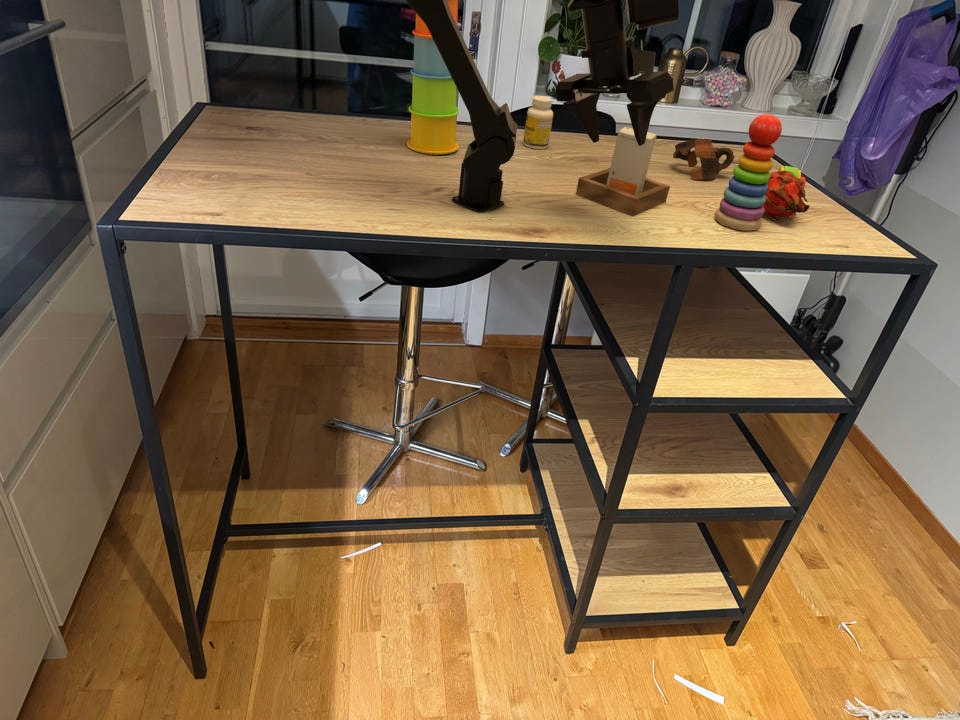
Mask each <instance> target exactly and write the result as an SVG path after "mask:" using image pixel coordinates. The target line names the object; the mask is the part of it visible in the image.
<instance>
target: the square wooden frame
mask: <svg viewBox="0 0 960 720" xmlns="http://www.w3.org/2000/svg"><path fill="white" fill-rule="evenodd" d="M609 171H610V167H609V168H606V169H602V170H599V171H597V172H593V173H589V174H587V175H583V176H581V177H578V181H577V186H576V191H575V195H577V196H579V197H582V198H585V199H587V200H590V201H593V202H595V203H597V204H600V205H603V206H606V207H608V208H611V209H614V210H616V211H618V212H621V213H624V214H626V215H629V216H632V217H634V216H636V215H638V214H641V213H643V212H646V211H648V210H650V209H653V208H655V207H657V206H660V205H662V204H664V203H666V202H667V198H668V196H669V191H670V188H671V185H668V184H665V183H662V182H660V181H657V180H653V179H652V178H648V177H646V178H645V182H644V186H643V190H642V193H640V194H637V195H635V196H634V195H631V194H628V193H626V192H623V191H620V190H617V189H615V188H612V187H609V186H606V184H607V180H608V175H609Z"/></svg>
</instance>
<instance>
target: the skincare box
mask: <svg viewBox="0 0 960 720" xmlns="http://www.w3.org/2000/svg"><path fill="white" fill-rule="evenodd" d="M656 139H657V133H653V132H649V131H648V132H647V136H646V140H645V144H644V145H642V146H639V145H638V143H637V141H636V138H635V135H634V131H633V127H628V126H624V127H623V128H621V129H620V130H619V131H618V133H617V137H616V142H615V146H614V150H613V155H612V159H611V163H610V167H609V168H610V171H609V175H608V180H607V184H606V186H609V187H612V188H615V189H617V190H620V191H623V192H626V193H628V194H631V195H634V196H635V195H637V194H640V193H642V190H643V186H644V182H645V178H647V174H648V171H649V167H650V162H651V158H652V156H653V155H652V153H653V150H654V146H655V143H656Z"/></svg>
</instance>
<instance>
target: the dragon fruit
mask: <svg viewBox="0 0 960 720" xmlns="http://www.w3.org/2000/svg"><path fill="white" fill-rule="evenodd" d="M773 172H774V173H772V172H771V173H772V174H771V173H770V179H769V180H768V182H766V183H767V185H768V190H767V192H766V193H765V194H764V195H765V197H766V201H765V203H764V204H763V207H764V210H765V211H764V214H765V215H767V218H769V220H770V219H771V220H772V221H776V222H777V221H778V222H779V219H778V218H779V216H781V217H783V218H787V219H788V220H790V219H792V218H794V217H796V216H797V213H799V214H800V213H801V214H802V213H806V212H807V211H808V210H809V209H810V207H811V206H810V204H806V203H805V202H807V203H808V200H807V198H806V190H805V188H804V189H803V187H801V186H802V185H803V184H804V183H803V181H802V180H801V179H799V178H797V177H795V175H794V174H793V173H792V172H790V171H778V170H777V171H773ZM803 199H804V201H805V202H804V201H803Z"/></svg>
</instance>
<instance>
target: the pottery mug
mask: <svg viewBox="0 0 960 720" xmlns="http://www.w3.org/2000/svg"><path fill="white" fill-rule="evenodd" d="M712 141H713V140H712V139H710V138H699V139H689V140H685V141H683V142H679V143H677V144H675V145H674V149H675V150H674V152H673V154H672V158H673V159H675V160H677V159H680V160H682V161H687V164H688V166H689V167H690V168H691V167H694V166H697V165H698V160H697V158H699V161H700V167H697V168H695V167H694V168H692V169H691V170H690V173H691V180H692V181H700V180H708V181H709V180H712V181H714V180H715V179H716V175H718V174H719V173H720V172H721V171H722V170H725V169H727V168H729V166H731V164H733V162H734V159H735V155H734V151H733V149H731V148H729V147H715V146H713V143H712ZM692 149H693V150H692ZM722 156H726V158H725V160H724V161H723V162H722V163H720V159H721V158H722Z"/></svg>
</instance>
